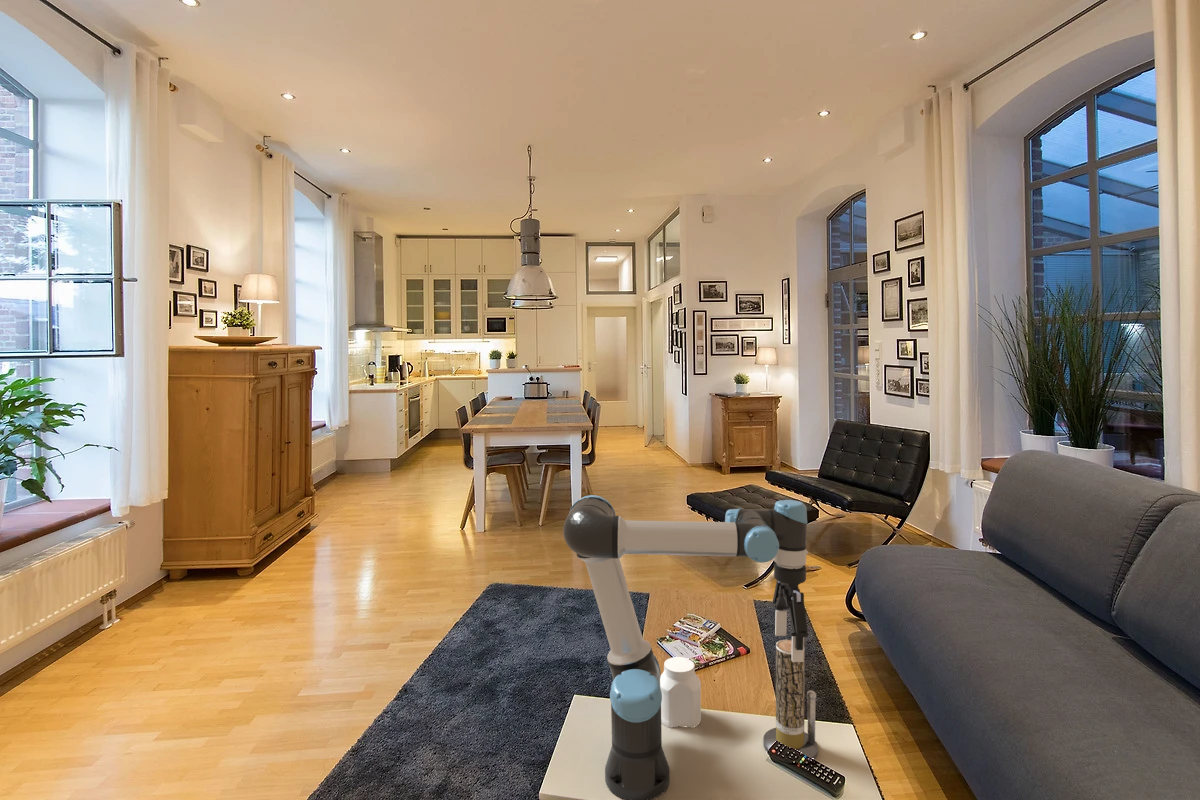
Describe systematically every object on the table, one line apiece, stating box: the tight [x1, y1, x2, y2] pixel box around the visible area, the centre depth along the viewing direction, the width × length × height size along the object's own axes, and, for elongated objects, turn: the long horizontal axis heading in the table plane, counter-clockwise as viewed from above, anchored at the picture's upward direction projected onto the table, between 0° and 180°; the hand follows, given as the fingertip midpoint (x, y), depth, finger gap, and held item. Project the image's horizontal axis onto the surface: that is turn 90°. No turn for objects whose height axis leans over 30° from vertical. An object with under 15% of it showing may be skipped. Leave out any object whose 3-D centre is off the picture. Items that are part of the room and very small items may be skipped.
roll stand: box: [762, 689, 819, 760], centre depth 152 cm, size 13×13×14 cm
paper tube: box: [775, 639, 806, 749], centre depth 152 cm, size 7×7×25 cm
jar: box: [660, 656, 702, 729], centre depth 166 cm, size 12×10×15 cm
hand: (788, 647), depth 151 cm, fingers open, 13 cm apart
